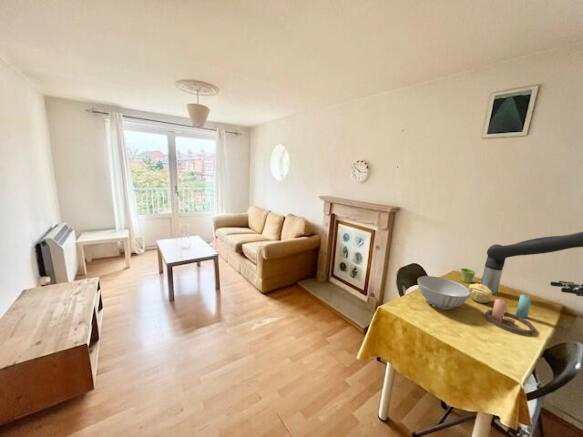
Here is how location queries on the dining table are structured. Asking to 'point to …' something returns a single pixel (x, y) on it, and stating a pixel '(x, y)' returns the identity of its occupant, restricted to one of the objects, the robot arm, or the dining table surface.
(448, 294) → the decorative bowl
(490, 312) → the brown ring
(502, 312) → the pink cylinder
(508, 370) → the dining table surface
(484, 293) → the sculpture
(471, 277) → the plant pot
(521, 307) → the teal cylinder
